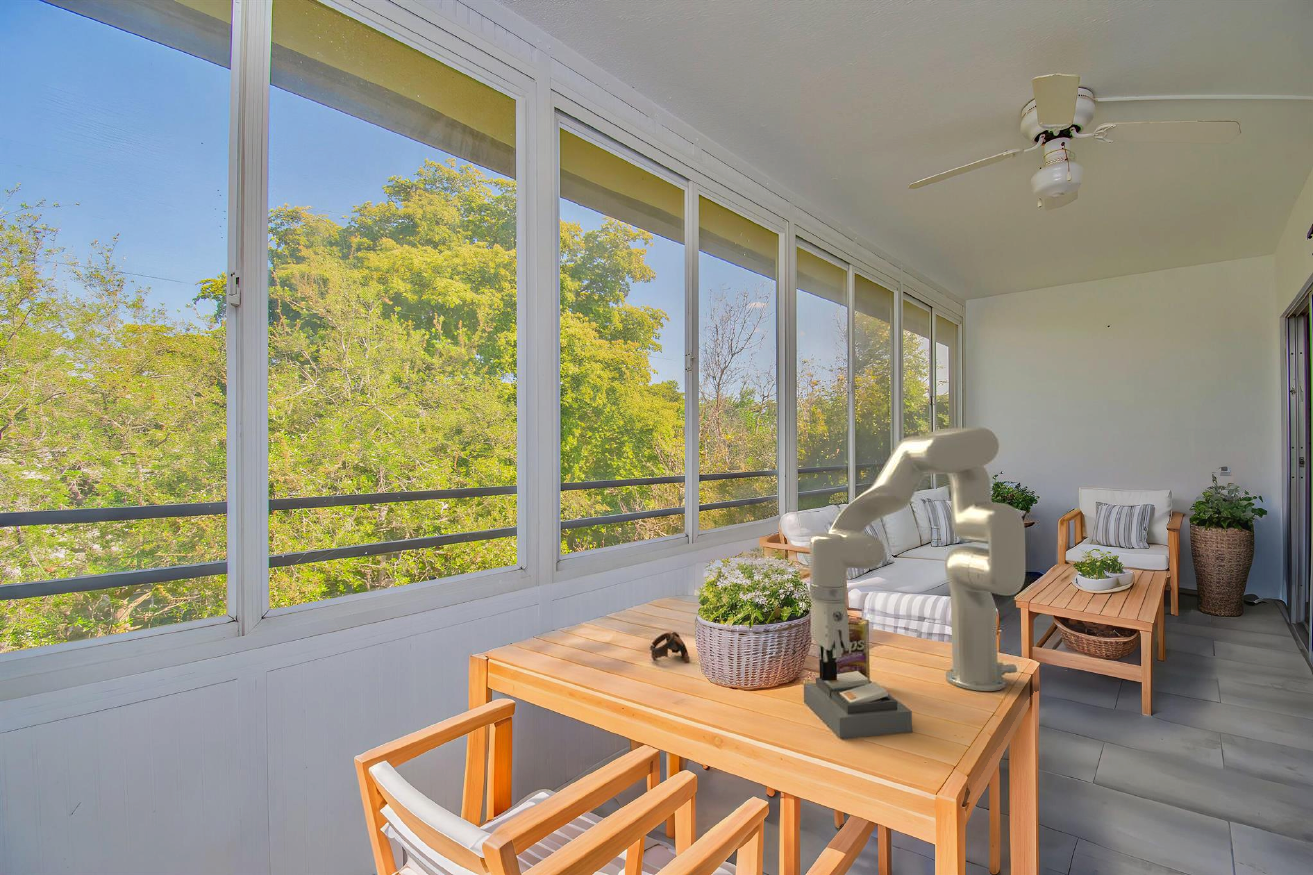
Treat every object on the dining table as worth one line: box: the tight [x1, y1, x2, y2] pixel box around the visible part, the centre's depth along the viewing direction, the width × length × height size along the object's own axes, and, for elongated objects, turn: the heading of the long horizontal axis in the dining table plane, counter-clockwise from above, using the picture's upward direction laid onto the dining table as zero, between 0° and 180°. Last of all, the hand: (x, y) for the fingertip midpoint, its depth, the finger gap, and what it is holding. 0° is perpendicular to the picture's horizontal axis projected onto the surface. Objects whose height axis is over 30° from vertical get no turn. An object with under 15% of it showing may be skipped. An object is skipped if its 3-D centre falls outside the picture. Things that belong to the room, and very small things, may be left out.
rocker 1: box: [824, 671, 869, 689], centre depth 136 cm, size 8×5×1 cm, turn 99°
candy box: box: [837, 617, 871, 681], centre depth 150 cm, size 9×4×15 cm, turn 60°
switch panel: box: [803, 676, 913, 740], centre depth 132 cm, size 15×18×6 cm
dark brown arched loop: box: [649, 631, 690, 664], centre depth 170 cm, size 12×10×8 cm
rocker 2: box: [839, 681, 889, 704], centre depth 128 cm, size 8×5×1 cm, turn 99°
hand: (828, 678), depth 135 cm, fingers closed
